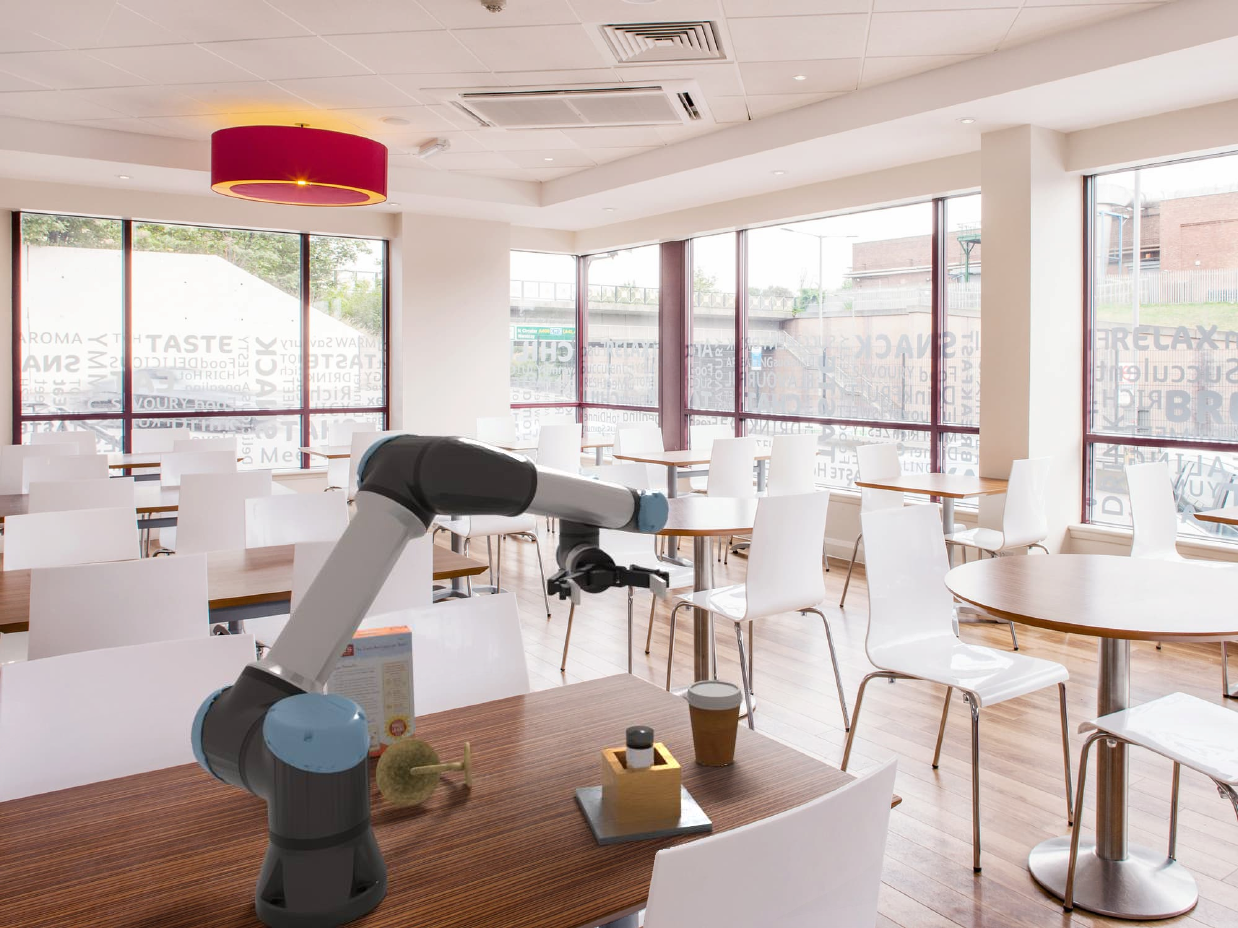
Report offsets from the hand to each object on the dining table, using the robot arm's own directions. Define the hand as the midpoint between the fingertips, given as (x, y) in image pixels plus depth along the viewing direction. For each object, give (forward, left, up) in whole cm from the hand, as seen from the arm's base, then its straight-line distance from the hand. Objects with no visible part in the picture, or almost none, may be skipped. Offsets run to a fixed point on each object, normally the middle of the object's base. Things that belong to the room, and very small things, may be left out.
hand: (621, 593), depth 136 cm
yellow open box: (0, -10, -30) cm, 32 cm away
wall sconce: (-30, +13, -30) cm, 44 cm away
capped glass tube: (0, -10, -30) cm, 31 cm away
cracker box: (-38, +24, -30) cm, 54 cm away
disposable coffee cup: (+17, +5, -30) cm, 35 cm away
